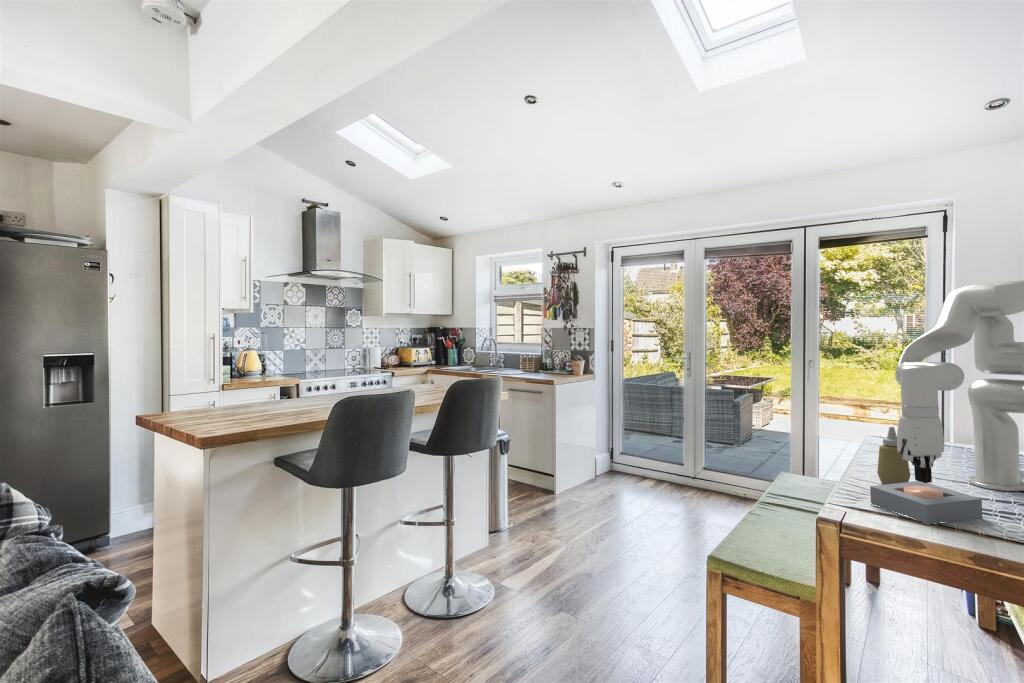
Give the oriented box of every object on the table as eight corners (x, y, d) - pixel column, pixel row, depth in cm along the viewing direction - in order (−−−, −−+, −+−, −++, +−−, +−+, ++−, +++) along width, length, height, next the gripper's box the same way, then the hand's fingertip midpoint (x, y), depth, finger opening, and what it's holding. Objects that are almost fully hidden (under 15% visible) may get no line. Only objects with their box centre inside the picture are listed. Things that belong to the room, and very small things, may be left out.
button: (922, 502, 135) (921, 484, 135) (952, 512, 128) (951, 493, 128) (896, 505, 134) (895, 487, 134) (925, 516, 126) (924, 496, 126)
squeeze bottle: (897, 491, 146) (895, 430, 146) (871, 484, 154) (868, 426, 154) (918, 488, 149) (915, 428, 148) (890, 481, 156) (888, 423, 156)
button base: (920, 498, 140) (919, 480, 140) (982, 518, 124) (981, 498, 124) (870, 504, 138) (870, 486, 138) (927, 525, 122) (926, 505, 122)
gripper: (930, 407, 136) (933, 474, 136) (882, 412, 133) (885, 480, 134) (958, 411, 128) (962, 482, 128) (908, 416, 126) (912, 488, 126)
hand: (923, 481), depth 131 cm, fingers closed
